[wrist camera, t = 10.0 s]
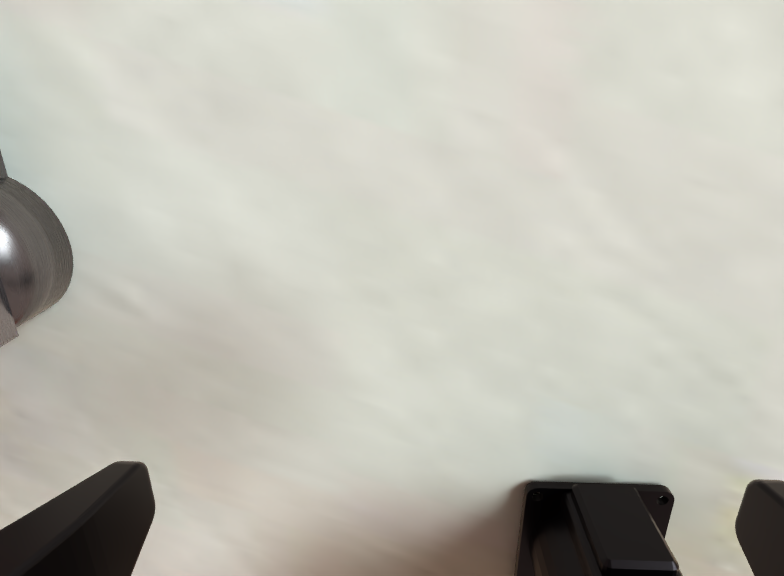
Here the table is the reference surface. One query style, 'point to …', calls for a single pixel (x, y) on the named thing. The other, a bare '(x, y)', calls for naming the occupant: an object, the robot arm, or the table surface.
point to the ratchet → (31, 251)
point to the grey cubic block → (6, 318)
